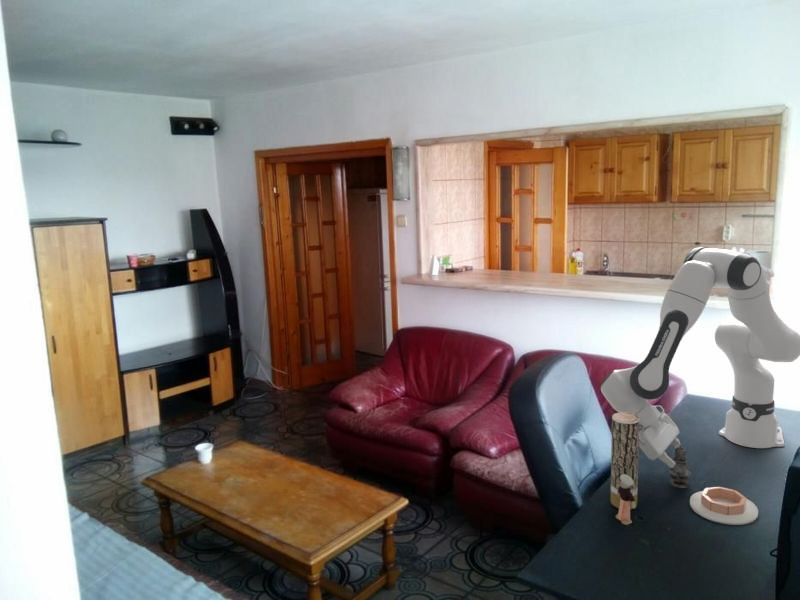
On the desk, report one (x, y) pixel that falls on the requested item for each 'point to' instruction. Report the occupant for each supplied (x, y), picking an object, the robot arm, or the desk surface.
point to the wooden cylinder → (624, 453)
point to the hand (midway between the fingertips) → (678, 459)
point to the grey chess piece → (679, 469)
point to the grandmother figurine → (625, 499)
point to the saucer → (723, 506)
